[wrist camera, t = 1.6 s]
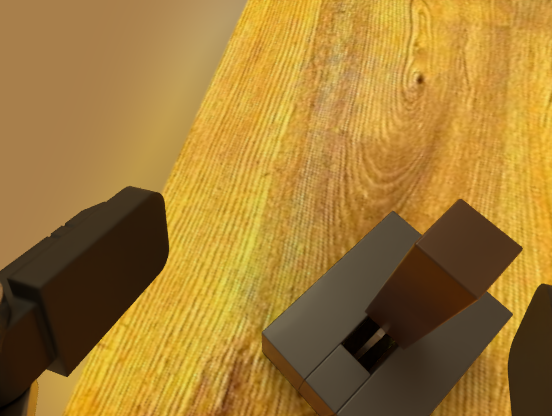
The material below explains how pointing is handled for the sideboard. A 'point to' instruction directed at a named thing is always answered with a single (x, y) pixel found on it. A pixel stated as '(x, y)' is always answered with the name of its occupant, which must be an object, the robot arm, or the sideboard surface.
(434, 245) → the knife
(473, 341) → the knife block
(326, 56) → the sideboard surface
